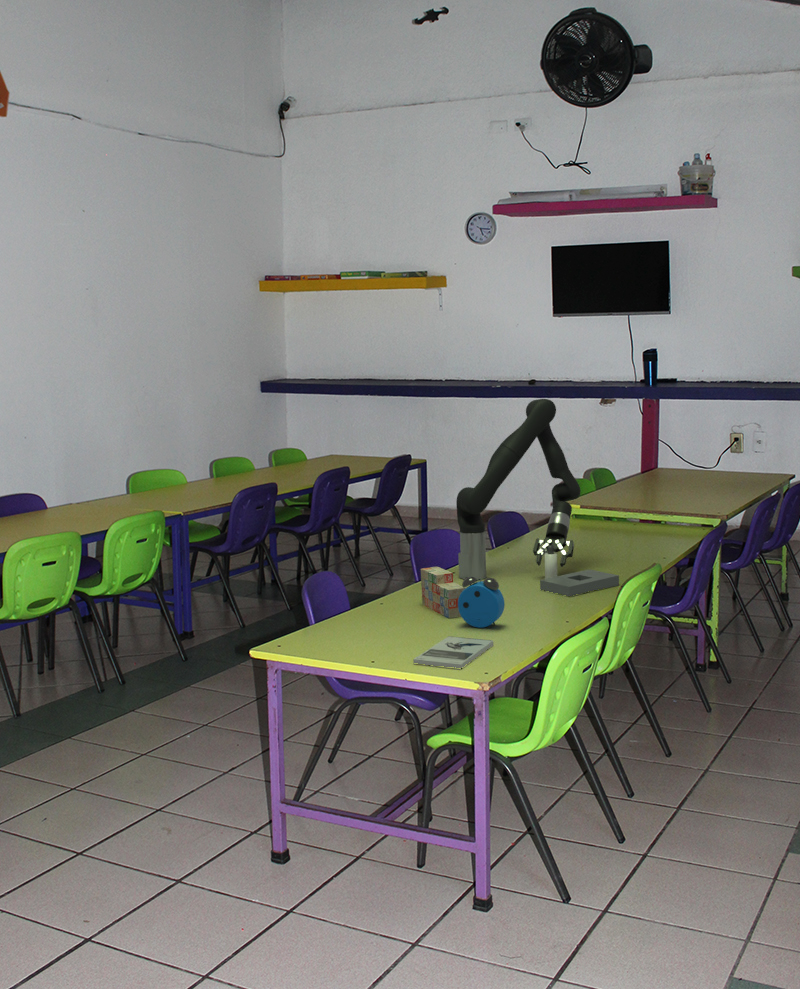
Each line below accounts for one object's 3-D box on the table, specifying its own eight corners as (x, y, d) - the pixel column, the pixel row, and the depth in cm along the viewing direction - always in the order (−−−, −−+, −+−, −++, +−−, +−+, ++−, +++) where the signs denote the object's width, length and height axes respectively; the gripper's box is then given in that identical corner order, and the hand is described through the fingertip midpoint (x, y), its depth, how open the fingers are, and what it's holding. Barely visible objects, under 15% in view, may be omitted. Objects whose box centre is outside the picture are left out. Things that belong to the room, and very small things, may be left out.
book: (461, 671, 258) (460, 664, 258) (413, 666, 264) (413, 659, 264) (493, 647, 278) (493, 640, 278) (448, 642, 284) (448, 636, 284)
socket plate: (569, 597, 329) (569, 586, 329) (540, 590, 341) (540, 580, 340) (619, 585, 343) (618, 575, 342) (589, 578, 354) (589, 569, 354)
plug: (551, 583, 350) (550, 547, 348) (542, 581, 354) (541, 545, 352) (560, 581, 353) (559, 545, 351) (551, 579, 356) (550, 543, 354)
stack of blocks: (466, 616, 311) (465, 578, 309) (448, 619, 308) (447, 580, 307) (438, 601, 330) (437, 565, 329) (421, 604, 328) (420, 567, 326)
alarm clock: (505, 625, 298) (504, 576, 296) (498, 630, 293) (497, 581, 291) (465, 621, 304) (463, 574, 302) (457, 626, 299) (456, 578, 296)
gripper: (537, 521, 360) (528, 558, 351) (575, 522, 354) (567, 560, 345) (541, 532, 365) (532, 569, 357) (579, 534, 360) (571, 571, 351)
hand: (549, 565), depth 351 cm, fingers open, 8 cm apart
